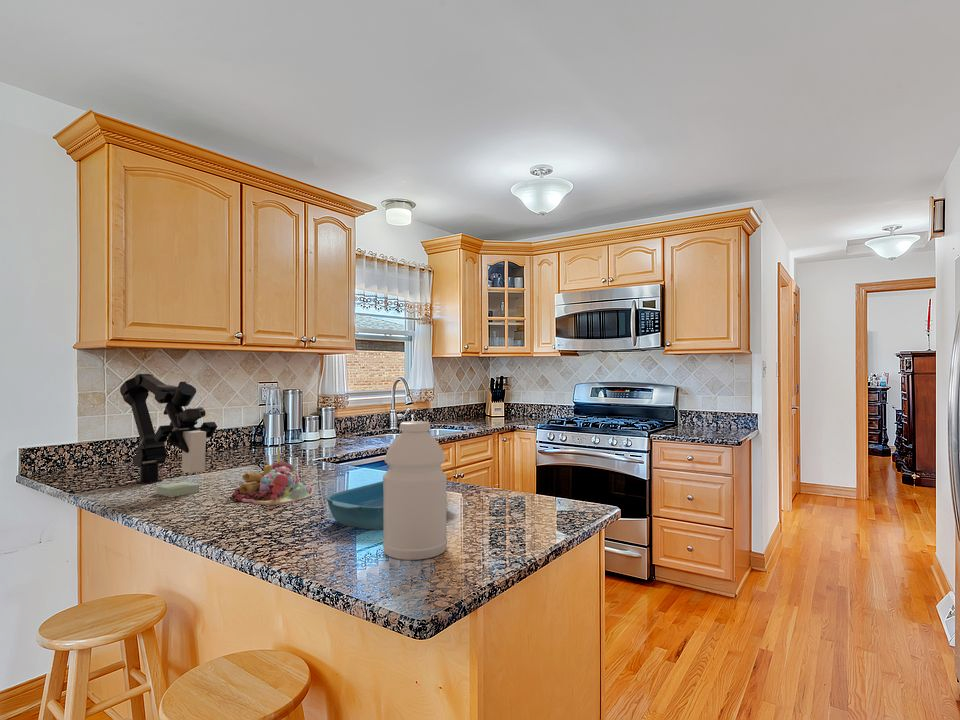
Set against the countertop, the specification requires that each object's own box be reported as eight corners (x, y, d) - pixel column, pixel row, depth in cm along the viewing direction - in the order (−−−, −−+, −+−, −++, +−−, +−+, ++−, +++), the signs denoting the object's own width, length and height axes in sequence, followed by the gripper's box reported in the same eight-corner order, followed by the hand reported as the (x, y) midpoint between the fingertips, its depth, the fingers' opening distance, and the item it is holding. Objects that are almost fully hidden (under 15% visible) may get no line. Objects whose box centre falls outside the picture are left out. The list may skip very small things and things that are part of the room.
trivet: (156, 493, 175) (156, 486, 175) (184, 488, 183) (184, 481, 183) (170, 497, 170) (171, 489, 170) (199, 492, 178) (199, 484, 178)
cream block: (181, 471, 179) (183, 431, 179) (196, 469, 183) (198, 430, 183) (189, 472, 176) (191, 432, 176) (204, 470, 180) (206, 431, 180)
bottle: (447, 540, 126) (447, 419, 127) (446, 560, 112) (446, 425, 113) (387, 540, 125) (387, 419, 126) (377, 561, 112) (378, 425, 112)
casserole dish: (373, 539, 127) (373, 509, 127) (309, 525, 139) (309, 497, 139) (461, 507, 158) (461, 482, 159) (402, 497, 170) (402, 475, 170)
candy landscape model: (215, 501, 166) (215, 471, 166) (266, 486, 188) (266, 459, 188) (284, 507, 158) (285, 475, 159) (329, 491, 181) (329, 463, 181)
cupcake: (287, 484, 190) (288, 449, 191) (263, 484, 190) (264, 449, 191) (296, 479, 199) (296, 446, 199) (273, 479, 199) (273, 446, 199)
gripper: (159, 400, 174) (176, 437, 168) (214, 398, 190) (232, 432, 184) (146, 423, 178) (163, 460, 172) (202, 419, 194) (219, 453, 188)
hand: (196, 451), depth 179 cm, fingers closed on cream block, 5 cm apart
